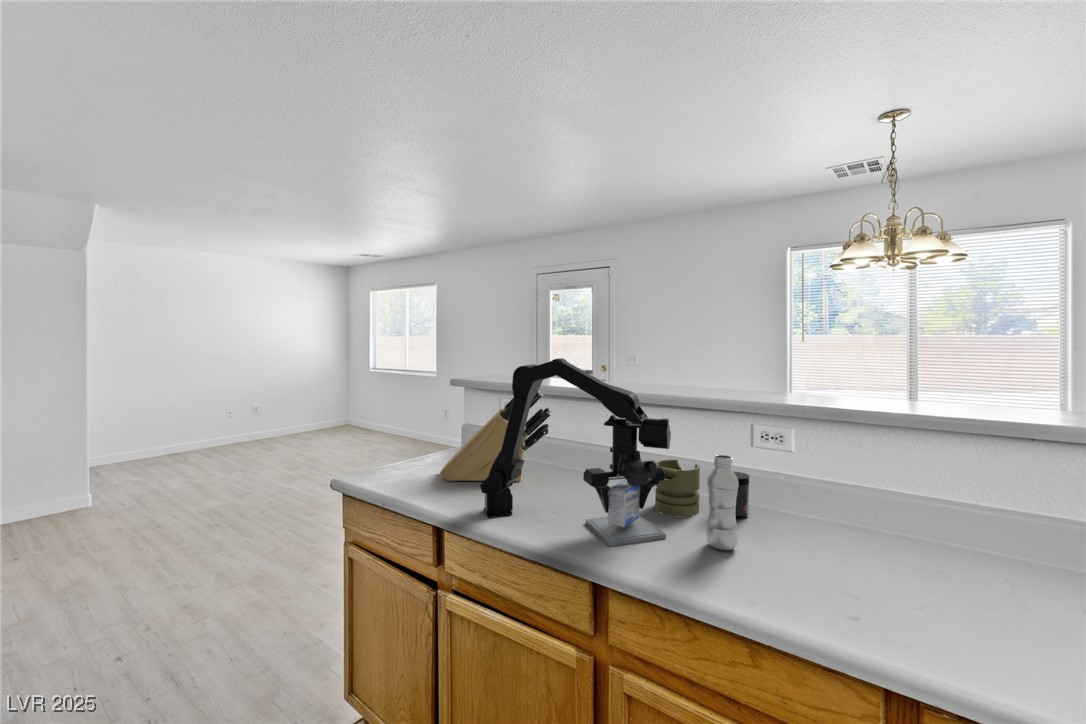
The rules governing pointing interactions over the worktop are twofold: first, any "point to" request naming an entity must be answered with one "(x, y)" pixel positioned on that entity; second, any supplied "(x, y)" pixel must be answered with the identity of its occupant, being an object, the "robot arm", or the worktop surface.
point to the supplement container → (742, 495)
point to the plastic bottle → (722, 505)
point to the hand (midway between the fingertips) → (623, 510)
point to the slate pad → (625, 531)
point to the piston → (678, 490)
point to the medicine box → (623, 504)
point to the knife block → (493, 445)
